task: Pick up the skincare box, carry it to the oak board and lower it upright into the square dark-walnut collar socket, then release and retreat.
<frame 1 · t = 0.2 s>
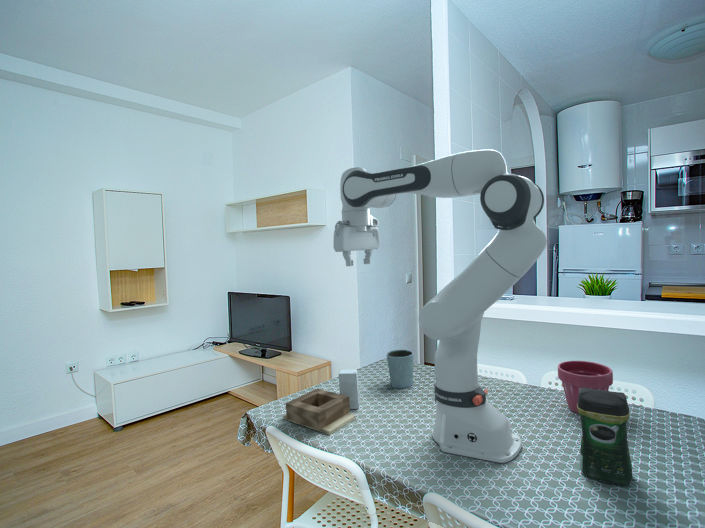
hand: (358, 265, 121), 47 cm above the table, fingers open, 8 cm apart
plant pot: (585, 409, 115), on the table
coffee jar: (605, 475, 84), on the table
socket: (318, 418, 120), on the table
blue-grey flower pot: (401, 384, 145), on the table
skincare box: (350, 407, 127), on the table
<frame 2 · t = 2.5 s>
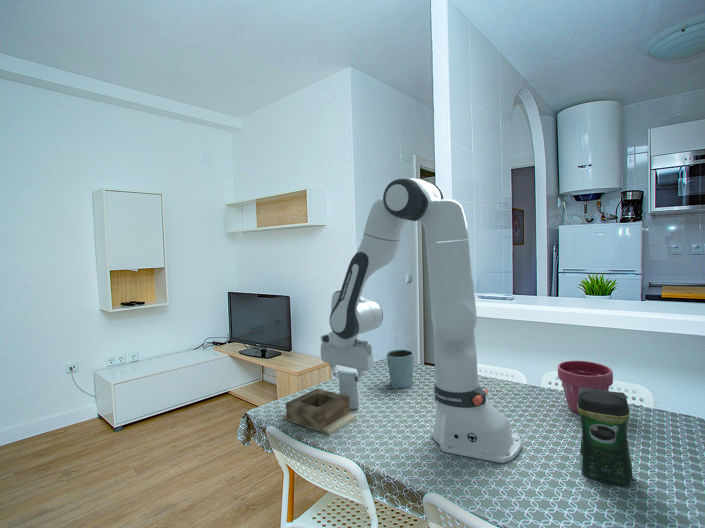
hand: (347, 378, 127), 9 cm above the table, fingers open, 8 cm apart
skincare box: (350, 407, 127), on the table, touching gripper
everything else where it was.
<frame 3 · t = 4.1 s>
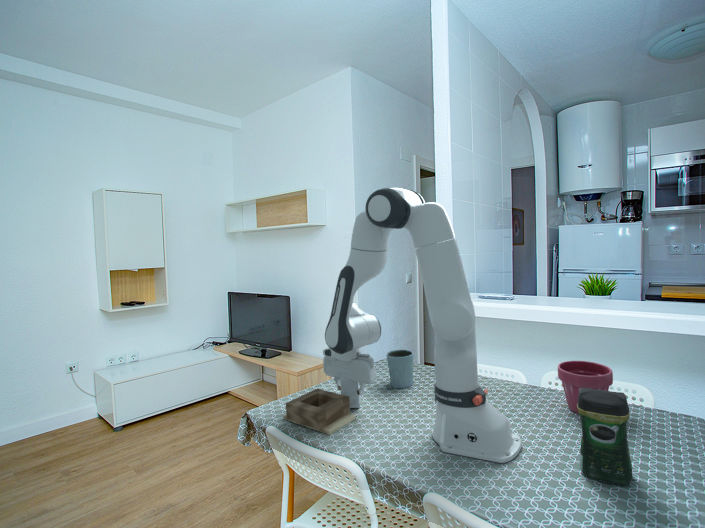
hand: (350, 392, 127), 5 cm above the table, fingers closed on skincare box, 7 cm apart
skincare box: (351, 406, 127), on the table, touching gripper
everything else where it was.
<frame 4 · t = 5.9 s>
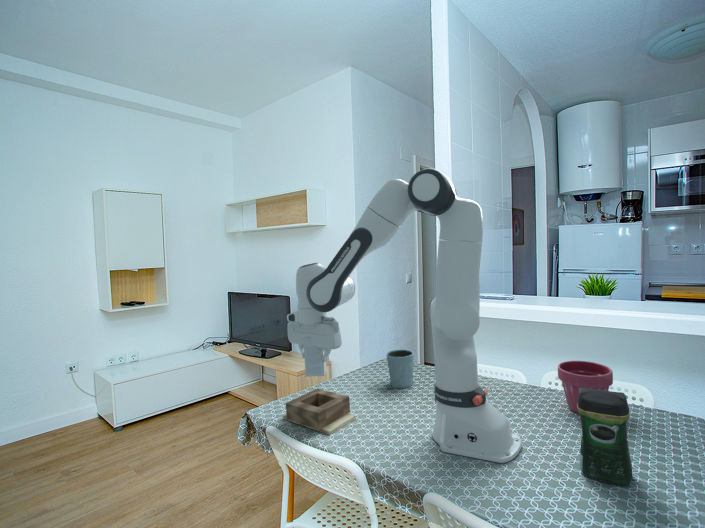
hand: (315, 359, 119), 19 cm above the table, fingers closed on skincare box, 7 cm apart
skincare box: (316, 375, 119), point 14 cm above the table, touching gripper
everything else where it was.
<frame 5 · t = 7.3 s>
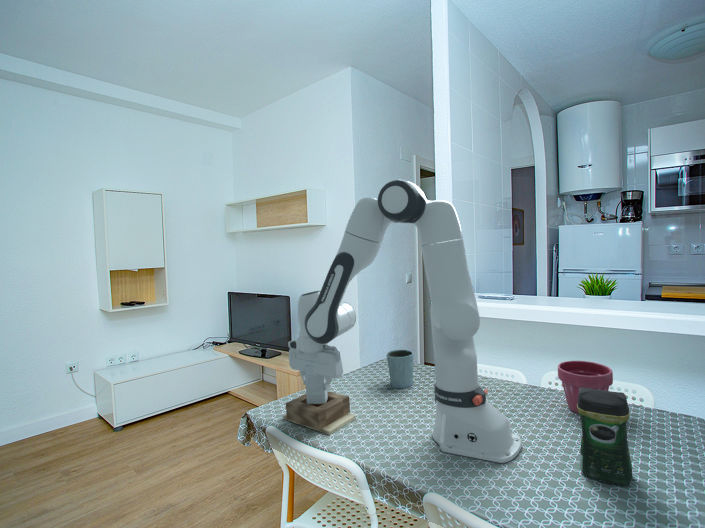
hand: (316, 387, 119), 10 cm above the table, fingers closed on skincare box, 7 cm apart
skincare box: (317, 402, 120), point 5 cm above the table, touching gripper
everything else where it was.
when the fingers open (8 cm above the table, at t = 8.4 s): skincare box drops 2 cm, resting on socket.
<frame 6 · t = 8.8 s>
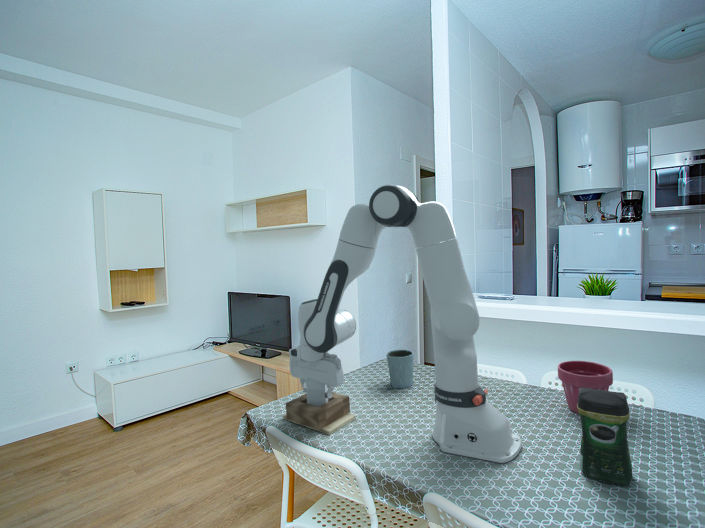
hand: (317, 394, 119), 8 cm above the table, fingers open, 8 cm apart
skincare box: (318, 415, 120), point 1 cm above the table, touching socket
everything else where it was.
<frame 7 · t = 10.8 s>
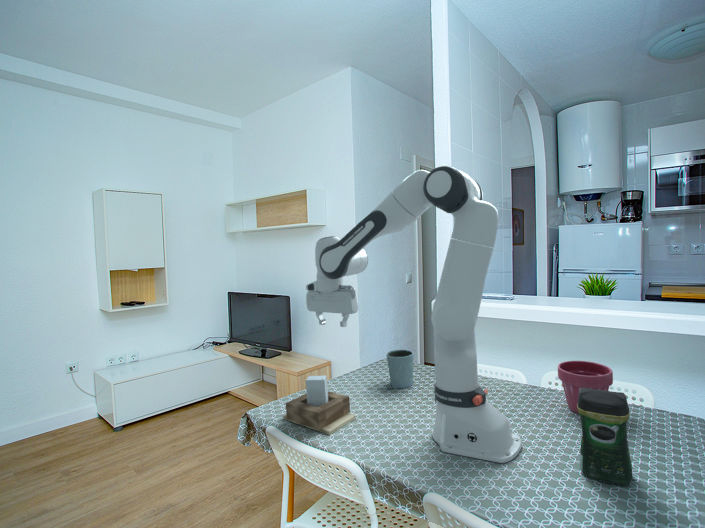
hand: (332, 325, 130), 27 cm above the table, fingers open, 8 cm apart
nothing on the table moved.
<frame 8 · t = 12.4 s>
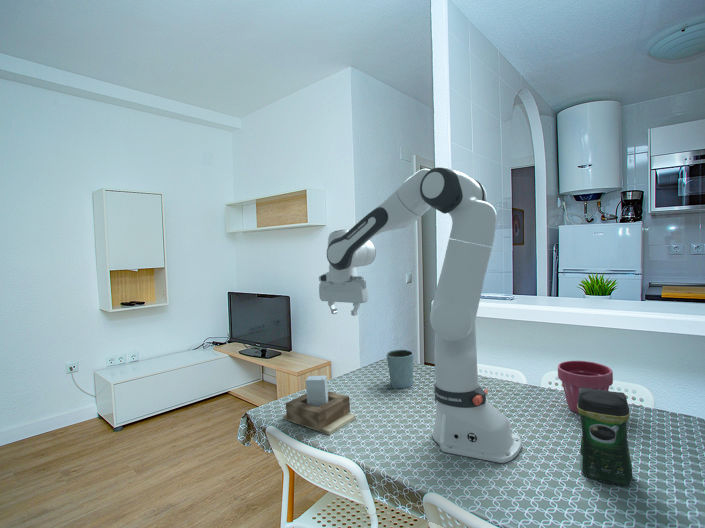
hand: (344, 314, 137), 29 cm above the table, fingers open, 8 cm apart
nothing on the table moved.
at the end: skincare box inside the target area on the socket (0.1 cm from its centre), point 0.8 cm above the socket's base; skincare box tilted 0°; the gripper is holding nothing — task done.
